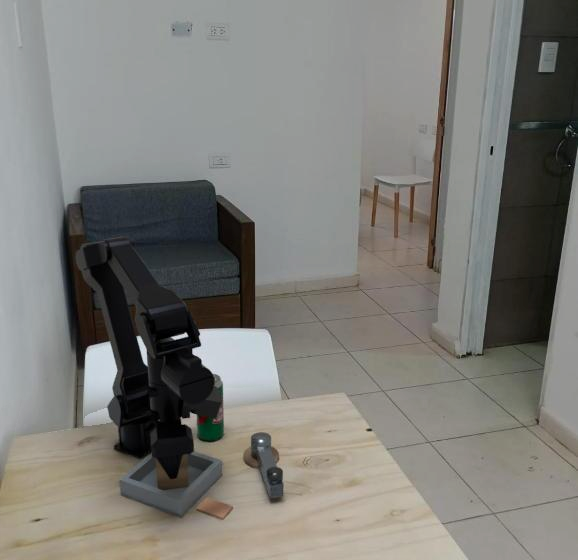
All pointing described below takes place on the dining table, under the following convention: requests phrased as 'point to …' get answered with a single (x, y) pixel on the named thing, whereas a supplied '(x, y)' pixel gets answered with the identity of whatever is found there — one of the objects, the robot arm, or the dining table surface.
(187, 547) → the dining table surface
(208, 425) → the soda can
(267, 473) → the lever
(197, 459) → the tray
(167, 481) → the block
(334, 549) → the dining table surface
